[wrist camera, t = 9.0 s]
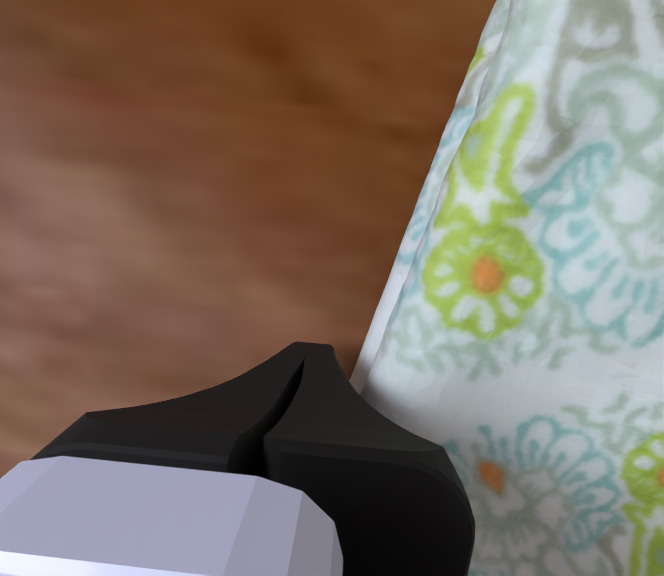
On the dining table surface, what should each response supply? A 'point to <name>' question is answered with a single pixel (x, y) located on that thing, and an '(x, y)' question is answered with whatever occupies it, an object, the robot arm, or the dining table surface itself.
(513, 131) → the towel
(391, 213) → the dining table surface
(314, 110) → the dining table surface
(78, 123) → the dining table surface
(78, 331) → the dining table surface
